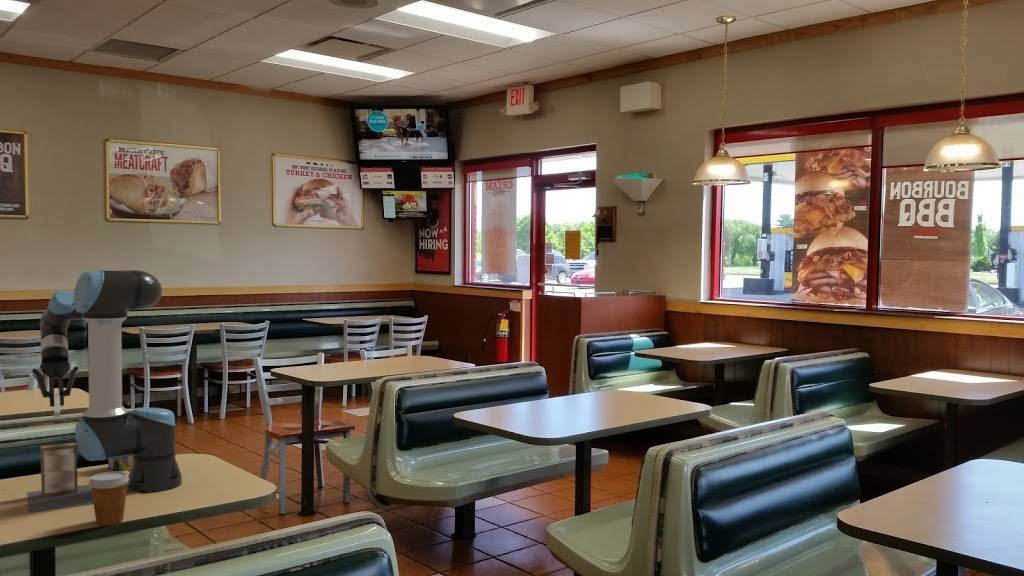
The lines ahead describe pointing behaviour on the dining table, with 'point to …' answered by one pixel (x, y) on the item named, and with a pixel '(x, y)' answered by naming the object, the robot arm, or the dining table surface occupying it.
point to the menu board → (59, 469)
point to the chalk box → (121, 463)
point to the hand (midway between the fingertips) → (57, 414)
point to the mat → (59, 500)
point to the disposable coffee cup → (109, 496)
